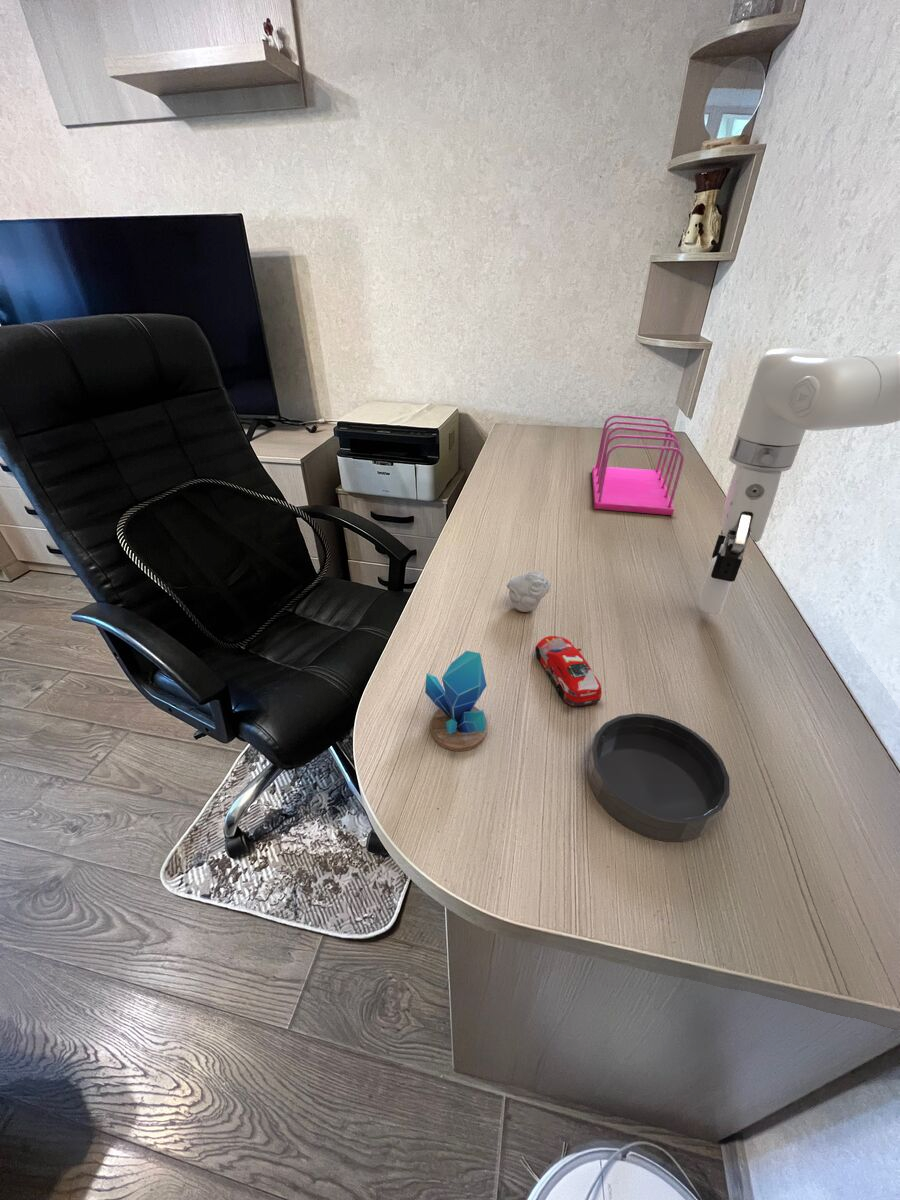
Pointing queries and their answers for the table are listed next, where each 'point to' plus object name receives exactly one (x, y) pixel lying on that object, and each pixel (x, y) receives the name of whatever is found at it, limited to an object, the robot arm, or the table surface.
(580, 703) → the race car
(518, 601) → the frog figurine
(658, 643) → the table surface
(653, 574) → the table surface
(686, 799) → the pan
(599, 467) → the file sorter
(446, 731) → the gemstone
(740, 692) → the table surface
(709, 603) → the eye dropper bottle
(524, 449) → the table surface
